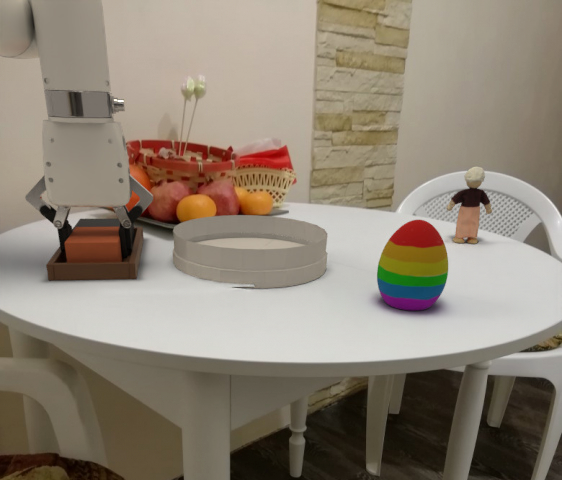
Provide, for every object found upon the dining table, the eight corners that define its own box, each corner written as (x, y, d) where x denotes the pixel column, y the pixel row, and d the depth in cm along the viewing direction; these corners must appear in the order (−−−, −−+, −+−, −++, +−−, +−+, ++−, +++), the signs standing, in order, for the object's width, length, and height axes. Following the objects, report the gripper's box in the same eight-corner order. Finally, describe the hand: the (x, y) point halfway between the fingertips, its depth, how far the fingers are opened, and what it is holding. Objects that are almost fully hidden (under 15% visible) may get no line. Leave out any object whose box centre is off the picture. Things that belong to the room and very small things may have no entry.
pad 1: (68, 270, 69) (64, 242, 67) (79, 251, 77) (75, 226, 75) (120, 269, 70) (117, 241, 69) (125, 251, 78) (123, 226, 77)
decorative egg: (399, 288, 72) (410, 210, 67) (454, 305, 66) (470, 222, 62) (360, 301, 66) (369, 217, 62) (416, 320, 61) (430, 230, 57)
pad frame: (49, 285, 68) (45, 264, 67) (75, 243, 87) (73, 226, 85) (136, 283, 70) (134, 263, 68) (143, 243, 88) (142, 226, 87)
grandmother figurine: (478, 239, 100) (492, 165, 94) (487, 244, 96) (503, 168, 90) (437, 239, 99) (450, 164, 93) (446, 244, 95) (459, 167, 90)
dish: (212, 240, 91) (211, 210, 89) (340, 255, 86) (343, 223, 84) (143, 275, 73) (140, 238, 70) (302, 297, 67) (305, 257, 65)
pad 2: (73, 256, 78) (70, 231, 76) (82, 241, 86) (79, 218, 84) (131, 255, 79) (129, 231, 77) (135, 240, 87) (133, 218, 86)
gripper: (154, 110, 70) (163, 248, 78) (11, 105, 67) (36, 250, 75) (153, 111, 63) (163, 262, 72) (-7, 106, 60) (23, 265, 69)
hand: (98, 255), depth 73 cm, fingers closed on pad 1, 6 cm apart
